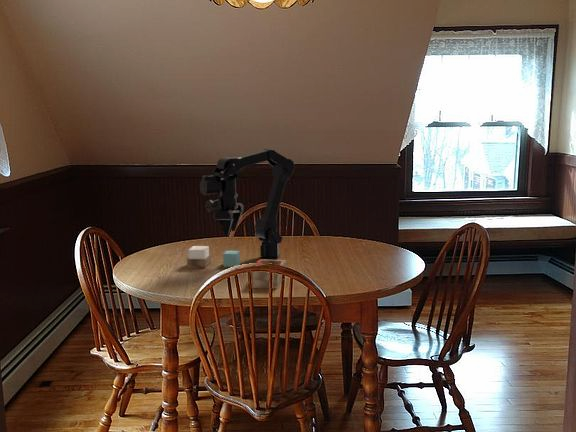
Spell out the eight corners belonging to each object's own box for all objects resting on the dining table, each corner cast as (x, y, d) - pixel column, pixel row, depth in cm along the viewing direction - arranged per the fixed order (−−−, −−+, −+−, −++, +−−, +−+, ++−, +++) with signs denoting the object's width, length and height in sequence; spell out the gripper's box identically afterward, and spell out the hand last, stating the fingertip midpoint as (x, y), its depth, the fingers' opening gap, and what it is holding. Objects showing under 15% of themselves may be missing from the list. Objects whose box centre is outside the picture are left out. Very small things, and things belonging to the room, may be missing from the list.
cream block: (209, 255, 226) (208, 246, 226) (204, 259, 220) (204, 249, 220) (193, 254, 227) (193, 245, 226) (188, 258, 221) (188, 249, 221)
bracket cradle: (285, 275, 209) (285, 260, 208) (277, 288, 194) (277, 272, 193) (260, 274, 211) (260, 259, 210) (250, 287, 196) (249, 271, 195)
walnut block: (211, 264, 227) (210, 255, 226) (205, 268, 220) (205, 259, 220) (193, 263, 228) (193, 254, 228) (187, 268, 221) (186, 259, 221)
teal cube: (240, 263, 226) (239, 250, 225) (236, 267, 221) (236, 254, 220) (227, 263, 227) (226, 250, 226) (223, 266, 222) (223, 253, 221)
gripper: (215, 188, 230) (217, 228, 233) (198, 196, 212) (201, 239, 215) (243, 188, 228) (244, 228, 231) (229, 196, 210) (230, 239, 213)
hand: (230, 233), depth 222 cm, fingers open, 9 cm apart
